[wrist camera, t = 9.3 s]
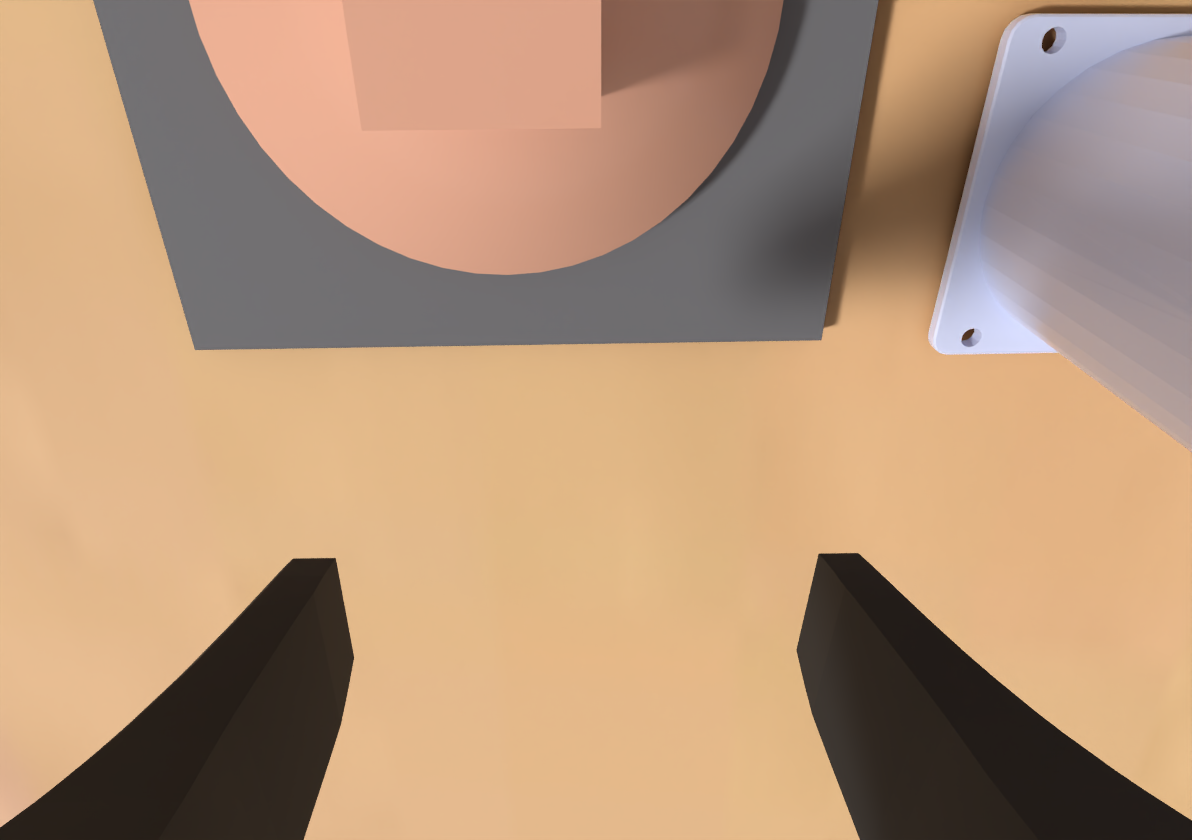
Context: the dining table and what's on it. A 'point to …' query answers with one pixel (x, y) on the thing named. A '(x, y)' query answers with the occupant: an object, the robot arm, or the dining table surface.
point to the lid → (493, 114)
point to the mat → (491, 301)
